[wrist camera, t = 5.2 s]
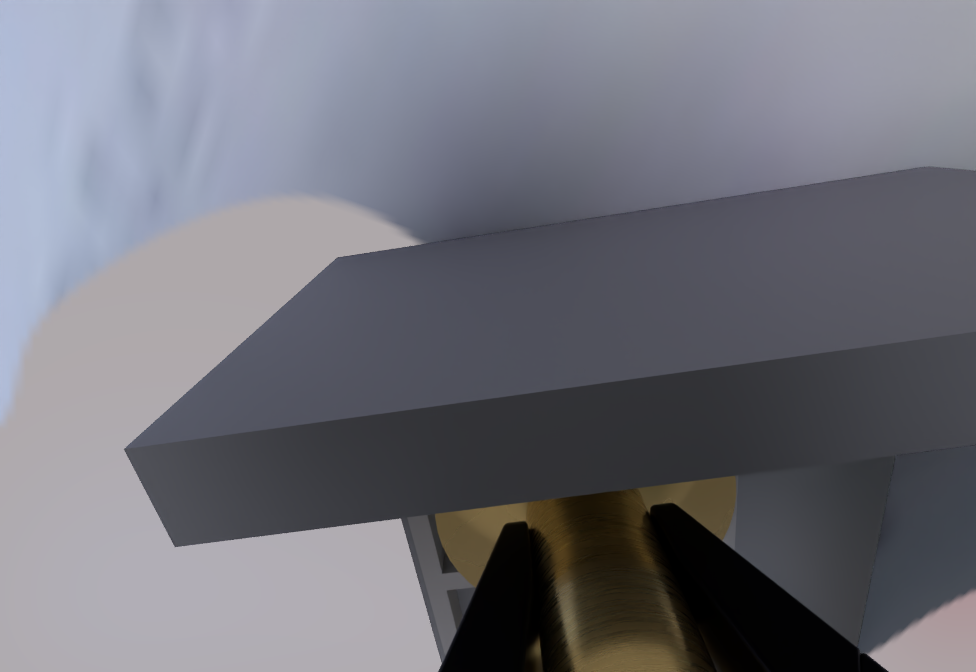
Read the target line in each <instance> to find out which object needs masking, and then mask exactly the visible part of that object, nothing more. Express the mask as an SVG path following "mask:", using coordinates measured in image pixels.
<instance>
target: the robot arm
mask: <svg viewBox="0 0 976 672" xmlns="http://www.w3.org/2000/svg"><path fill="white" fill-rule="evenodd" d="M650 516H651V519H652V521H653V523H654V526H655V528H656V530H657V533H658V535H659V537H660V540H661V542H662V544H663V547H664V549H665V551H666V554H667V556H668V558H669V561H670V563H671V565H672V568H673V570H674V572H675V575H676V577H677V579H678V582H679V584H680V586H681V589H682V591H683V593H684V596H685V598H686V600H687V603H688V605H689V607H690V610H691V612H692V614H693V617H694V619H695V621H696V624H697V626H698V628H699V631H700V633H701V635H702V638H703V640H704V642H705V645H706V647H707V649H708V652H709V654H710V656H711V659H712V661H713V663H714V666H715V668H716V670H717V672H888V671H887V670H886V669H884V668H883V667H882V666H881V665H879V664H878V663H877V662H876V661H874V660H873V659H872V658H871V657H869V656H868V655H867V654H865V653H862V654H861V655H860V650H859V648H858V647H856V646H855V645H854V644H852V643H851V642H850V641H849V640H847V639H846V638H845V637H844V636H842V635H841V634H840V633H839V632H837V631H836V630H835V629H834V628H832V627H831V626H830V625H828V624H827V623H826V622H825V621H823V620H822V619H821V618H820V617H818V616H817V615H816V614H815V613H813V612H812V611H811V610H809V609H808V608H807V607H806V606H804V605H803V604H802V603H801V602H799V601H798V600H797V599H796V598H794V597H793V596H792V595H790V594H789V593H788V592H787V591H785V590H784V589H783V588H782V587H780V586H779V585H778V584H777V583H775V582H774V581H773V580H771V579H770V578H769V577H768V576H766V575H765V574H764V573H763V572H761V571H760V570H759V569H758V568H756V567H755V566H754V565H752V564H751V563H750V562H749V561H747V560H746V559H745V558H744V557H742V556H741V555H740V554H739V553H737V552H736V551H735V550H733V549H732V548H731V547H730V546H728V545H727V544H726V543H725V542H723V541H722V540H721V539H720V538H718V537H717V536H716V535H715V534H713V533H712V532H711V531H709V530H708V529H707V528H706V527H704V526H703V525H702V524H701V523H699V522H698V521H697V520H696V519H694V518H693V517H692V516H690V515H689V514H688V513H687V512H685V511H684V510H683V509H682V508H680V507H679V506H678V505H676V504H674V503H662V504H654V505H652V506H651V507H650ZM438 672H543V668H542V659H541V650H540V641H539V632H538V621H537V602H536V590H535V580H534V572H533V563H532V554H531V545H530V536H529V528H528V524H527V522H526V521H518V522H510V523H506V524H505V525H504V526H503V528H502V530H501V532H500V535H499V537H498V539H497V541H496V544H495V546H494V548H493V550H492V553H491V555H490V557H489V559H488V562H487V564H486V566H485V568H484V571H483V573H482V575H481V577H480V579H479V582H478V584H477V586H476V588H475V591H474V593H473V595H472V597H471V600H470V602H469V604H468V606H467V609H466V611H465V613H464V615H463V618H462V620H461V622H460V624H459V627H458V629H457V631H456V633H455V636H454V638H453V640H452V642H451V644H450V647H449V649H448V651H447V653H446V656H445V658H444V660H443V662H442V665H441V667H440V669H439V671H438Z"/></svg>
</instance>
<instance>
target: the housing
mask: <svg viewBox="0 0 976 672" xmlns="http://www.w3.org/2000/svg"><path fill="white" fill-rule="evenodd" d="M973 445H976V171H973V170H961V169H950V168H939V167H922V168H916V169H909V170H903V171H896V172H890V173H883V174H877V175H870V176H864V177H857V178H851V179H844V180H838V181H831V182H825V183H818V184H812V185H805V186H799V187H792V188H786V189H779V190H773V191H766V192H760V193H753V194H747V195H740V196H734V197H728V198H721V199H715V200H708V201H702V202H695V203H689V204H682V205H676V206H669V207H663V208H656V209H650V210H643V211H637V212H630V213H624V214H617V215H611V216H604V217H598V218H591V219H585V220H578V221H572V222H565V223H559V224H552V225H546V226H539V227H533V228H526V229H520V230H513V231H507V232H500V233H494V234H487V235H481V236H474V237H468V238H461V239H455V240H448V241H442V242H435V243H429V244H422V245H416V246H409V247H403V248H397V249H390V250H384V251H377V252H370V253H364V254H357V255H351V256H345V257H338V258H336V259H335V260H334V261H333V262H332V263H331V264H330V265H329V266H327V267H326V268H325V269H324V270H323V271H322V272H321V273H320V274H318V275H317V276H316V277H315V278H314V279H313V280H312V281H311V282H310V283H309V284H307V285H306V286H305V287H304V288H303V289H302V290H301V291H300V292H298V293H297V294H296V295H295V296H294V297H293V298H292V299H291V300H290V301H288V302H287V303H286V304H285V305H284V306H283V307H282V308H281V309H279V310H278V311H277V312H276V313H275V314H274V315H273V316H272V317H271V318H269V319H268V320H267V321H266V322H265V323H264V324H263V325H262V326H261V327H259V329H257V330H256V331H255V332H254V333H253V334H252V335H251V336H249V338H247V339H246V340H245V341H244V342H243V343H242V344H241V345H239V346H238V347H237V348H236V349H235V350H234V351H233V352H232V353H230V354H229V355H228V356H227V357H226V358H225V359H224V360H223V361H222V362H220V364H218V365H217V366H216V367H215V368H214V369H213V370H212V371H210V372H209V373H208V374H207V375H206V376H205V377H204V378H203V379H202V380H200V381H199V382H198V383H197V384H196V385H195V386H194V387H193V388H192V389H190V390H189V391H188V392H187V393H186V394H185V395H184V396H183V397H181V398H180V399H179V400H178V401H177V402H176V403H175V404H174V405H173V406H172V407H170V408H169V409H168V410H167V411H166V412H165V413H164V414H163V415H162V416H160V417H159V418H158V419H157V420H156V421H155V422H154V423H153V424H151V425H150V426H149V427H148V428H147V429H146V430H145V431H144V432H143V433H141V434H140V435H139V436H138V437H137V438H136V439H135V440H134V441H133V442H132V443H130V444H129V445H128V446H127V447H126V448H125V449H124V450H125V452H126V454H127V456H128V458H129V460H130V462H131V464H132V466H133V467H134V469H135V471H136V473H137V475H138V477H139V479H140V481H141V483H142V485H143V487H144V489H145V490H146V492H147V494H148V496H149V498H150V500H151V502H152V504H153V506H154V508H155V510H156V512H157V513H158V515H159V517H160V519H161V521H162V523H163V525H164V527H165V529H166V531H167V532H168V535H169V536H170V538H171V540H172V542H173V544H174V546H175V547H178V546H187V545H195V544H203V543H210V542H218V541H225V540H234V539H242V538H249V537H258V536H265V535H273V534H280V533H289V532H296V531H305V530H312V529H319V528H328V527H336V526H344V525H352V524H359V523H367V522H375V521H383V520H390V519H399V518H401V519H402V523H403V527H404V530H405V534H406V537H407V541H408V544H409V548H410V552H411V555H412V558H413V562H414V566H415V569H416V573H417V576H418V580H419V584H420V587H421V590H422V594H423V598H424V601H425V605H426V608H427V612H428V615H429V619H430V623H431V626H432V630H433V633H434V637H435V641H436V644H437V648H438V651H439V654H440V658H441V662H443V660H444V658H445V656H446V653H447V651H448V649H449V647H450V644H451V642H452V640H453V638H454V636H455V633H456V631H457V629H458V627H459V624H460V622H461V620H462V618H463V615H464V613H465V611H466V609H467V606H468V604H469V602H470V600H471V597H472V595H473V593H474V591H475V587H474V586H473V585H471V584H470V583H469V582H468V581H467V580H466V579H465V578H464V577H463V576H462V575H461V574H460V573H459V572H458V571H457V569H456V568H455V566H454V565H453V564H452V562H451V561H450V560H449V558H448V556H447V554H446V552H445V550H444V548H443V546H442V543H441V540H440V537H439V534H438V531H437V525H436V519H435V514H438V513H446V512H454V511H462V510H470V509H478V508H486V507H493V506H501V505H509V504H517V503H525V502H533V501H541V500H548V499H556V498H564V497H572V496H580V495H588V494H596V493H603V492H611V491H619V490H627V489H635V488H643V487H651V486H658V485H666V484H674V483H682V482H690V481H698V480H706V479H713V478H721V477H729V476H735V478H736V501H735V509H734V513H733V516H732V520H731V523H730V526H729V528H728V530H727V533H726V535H725V537H724V539H723V542H725V543H726V544H727V545H728V546H730V547H731V548H732V549H733V550H735V551H736V552H737V553H739V554H740V555H741V556H742V557H744V558H745V559H746V560H747V561H749V562H750V563H751V564H752V565H754V566H755V567H756V568H758V569H759V570H760V571H761V572H763V573H764V574H765V575H766V576H768V577H769V578H770V579H771V580H773V581H774V582H775V583H777V584H778V585H779V586H780V587H782V588H783V589H784V590H785V591H787V592H788V593H789V594H790V595H792V596H793V597H794V598H796V599H797V600H798V601H799V602H801V603H802V604H803V605H804V606H806V607H807V608H808V609H809V610H811V611H812V612H813V613H815V614H816V615H817V616H818V617H820V618H821V619H822V620H823V621H825V622H826V623H827V624H828V625H830V626H831V627H832V628H834V629H835V630H836V631H837V632H839V633H840V634H841V635H842V636H844V637H845V638H846V639H847V640H849V641H850V642H851V643H852V644H854V645H855V646H856V647H858V642H859V637H860V632H861V627H862V622H863V617H864V612H865V606H866V601H867V596H868V591H869V586H870V581H871V576H872V571H873V566H874V561H875V556H876V551H877V546H878V541H879V536H880V531H881V526H882V521H883V516H884V511H885V506H886V501H887V496H888V491H889V486H890V481H891V476H892V471H893V466H894V461H895V456H896V455H902V454H910V453H918V452H926V451H934V450H941V449H949V448H957V447H965V446H973Z"/></svg>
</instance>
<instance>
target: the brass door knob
mask: <svg viewBox="0 0 976 672" xmlns="http://www.w3.org/2000/svg"><path fill="white" fill-rule="evenodd" d="M735 501H736V478H735V476H729V477H721V478H713V479H706V480H698V481H690V482H682V483H674V484H666V485H658V486H651V487H643V488H635V489H627V490H619V491H611V492H603V493H596V494H588V495H580V496H572V497H564V498H556V499H548V500H541V501H533V502H525V503H517V504H509V505H501V506H493V507H486V508H478V509H470V510H462V511H454V512H446V513H438V514H435V519H436V525H437V531H438V534H439V537H440V540H441V543H442V546H443V548H444V550H445V552H446V554H447V556H448V558H449V560H450V561H451V562H452V564H453V565H454V566H455V568H456V569H457V571H458V572H459V573H460V574H461V575H462V576H463V577H464V578H465V579H466V580H467V581H468V582H469V583H470V584H471V585H473V586H474V587H475V588H476V586H477V584H478V582H479V579H480V577H481V575H482V573H483V571H484V568H485V566H486V564H487V562H488V559H489V557H490V555H491V553H492V550H493V548H494V546H495V544H496V541H497V539H498V537H499V535H500V532H501V530H502V528H503V526H504V525H505V524H506V523H510V522H518V521H526V522H527V524H528V528H529V536H530V545H531V554H532V563H533V572H534V580H535V590H536V602H537V621H538V632H539V641H540V650H541V659H542V668H543V672H717V670H716V668H715V666H714V663H713V661H712V659H711V656H710V654H709V652H708V649H707V647H706V645H705V642H704V640H703V638H702V635H701V633H700V631H699V628H698V626H697V624H696V621H695V619H694V617H693V614H692V612H691V610H690V607H689V605H688V603H687V600H686V598H685V596H684V593H683V591H682V589H681V586H680V584H679V582H678V579H677V577H676V575H675V572H674V570H673V568H672V565H671V563H670V561H669V558H668V556H667V554H666V551H665V549H664V547H663V544H662V542H661V540H660V537H659V535H658V533H657V530H656V528H655V526H654V523H653V521H652V519H651V516H650V507H651V506H652V505H654V504H662V503H674V504H676V505H678V506H679V507H680V508H682V509H683V510H684V511H685V512H687V513H688V514H689V515H690V516H692V517H693V518H694V519H696V520H697V521H698V522H699V523H701V524H702V525H703V526H704V527H706V528H707V529H708V530H709V531H711V532H712V533H713V534H715V535H716V536H717V537H718V538H720V539H721V540H722V541H723V539H724V537H725V535H726V533H727V530H728V528H729V526H730V523H731V520H732V516H733V513H734V509H735Z"/></svg>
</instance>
